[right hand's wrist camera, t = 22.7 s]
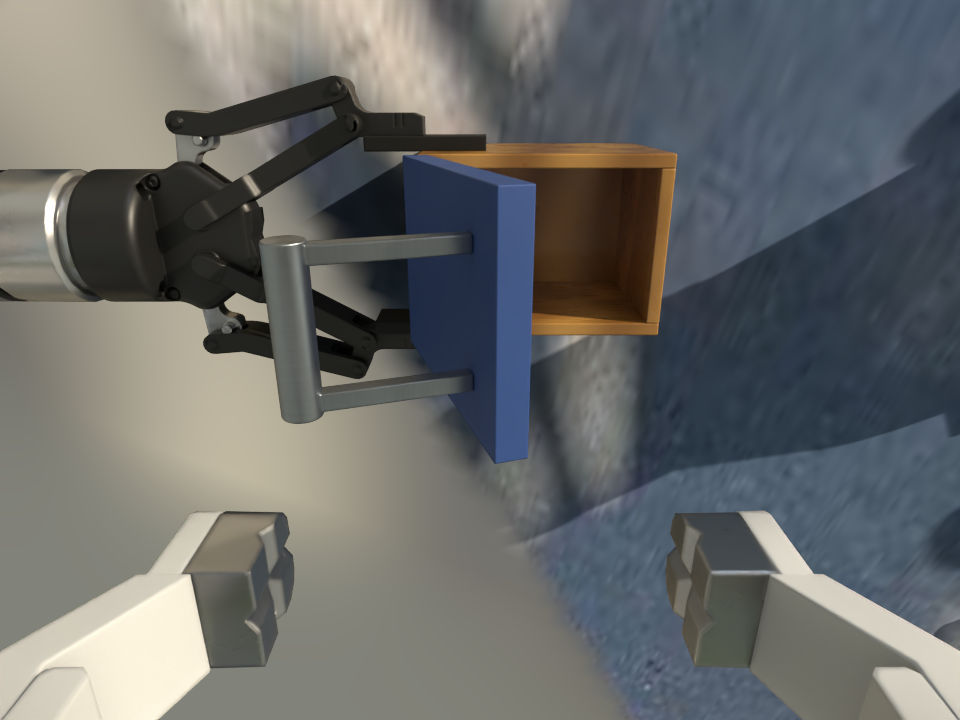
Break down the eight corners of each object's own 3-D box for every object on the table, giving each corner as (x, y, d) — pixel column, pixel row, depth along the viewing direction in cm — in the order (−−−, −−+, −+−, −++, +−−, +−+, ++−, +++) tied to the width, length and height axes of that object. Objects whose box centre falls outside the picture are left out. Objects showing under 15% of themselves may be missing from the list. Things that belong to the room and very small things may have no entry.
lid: (536, 183, 19) (250, 195, 17) (528, 458, 23) (291, 501, 20) (428, 154, 31) (251, 158, 29) (433, 338, 35) (276, 356, 32)
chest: (634, 143, 41) (677, 153, 31) (621, 288, 44) (658, 335, 35) (431, 143, 41) (416, 154, 32) (435, 288, 44) (423, 335, 35)
